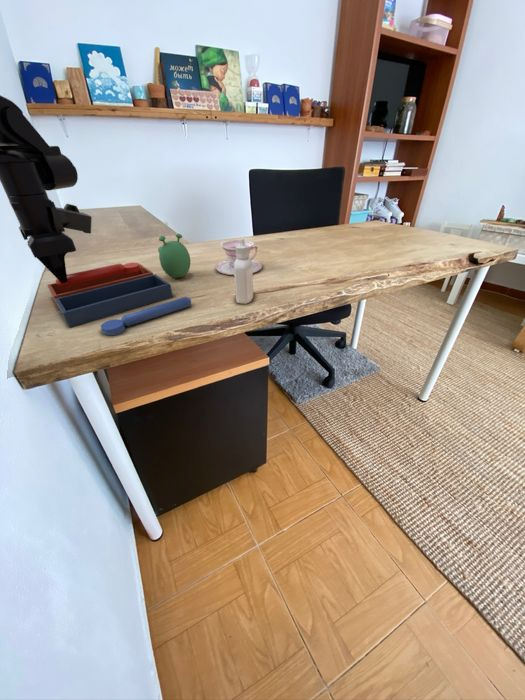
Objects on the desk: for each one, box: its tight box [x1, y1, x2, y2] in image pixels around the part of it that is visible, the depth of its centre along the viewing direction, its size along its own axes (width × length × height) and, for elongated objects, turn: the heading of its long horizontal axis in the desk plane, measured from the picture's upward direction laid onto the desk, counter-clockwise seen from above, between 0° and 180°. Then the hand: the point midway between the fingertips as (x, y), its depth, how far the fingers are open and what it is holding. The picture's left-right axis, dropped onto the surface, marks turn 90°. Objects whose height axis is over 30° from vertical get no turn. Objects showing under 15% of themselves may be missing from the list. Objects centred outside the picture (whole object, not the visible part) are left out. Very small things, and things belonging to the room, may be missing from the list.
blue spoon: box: [100, 296, 192, 336], centre depth 54 cm, size 17×4×2 cm, turn 129°
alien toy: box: [157, 233, 191, 279], centre depth 69 cm, size 7×8×10 cm
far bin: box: [46, 263, 154, 309], centre depth 64 cm, size 20×8×3 cm, turn 129°
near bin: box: [54, 273, 174, 328], centre depth 59 cm, size 20×8×3 cm, turn 129°
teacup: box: [215, 239, 263, 276], centre depth 75 cm, size 12×12×6 cm
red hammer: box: [55, 262, 141, 286], centre depth 63 cm, size 17×4×2 cm, turn 129°
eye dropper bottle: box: [233, 237, 254, 305], centre depth 58 cm, size 4×6×12 cm
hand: (63, 280), depth 59 cm, fingers closed on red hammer, 2 cm apart
